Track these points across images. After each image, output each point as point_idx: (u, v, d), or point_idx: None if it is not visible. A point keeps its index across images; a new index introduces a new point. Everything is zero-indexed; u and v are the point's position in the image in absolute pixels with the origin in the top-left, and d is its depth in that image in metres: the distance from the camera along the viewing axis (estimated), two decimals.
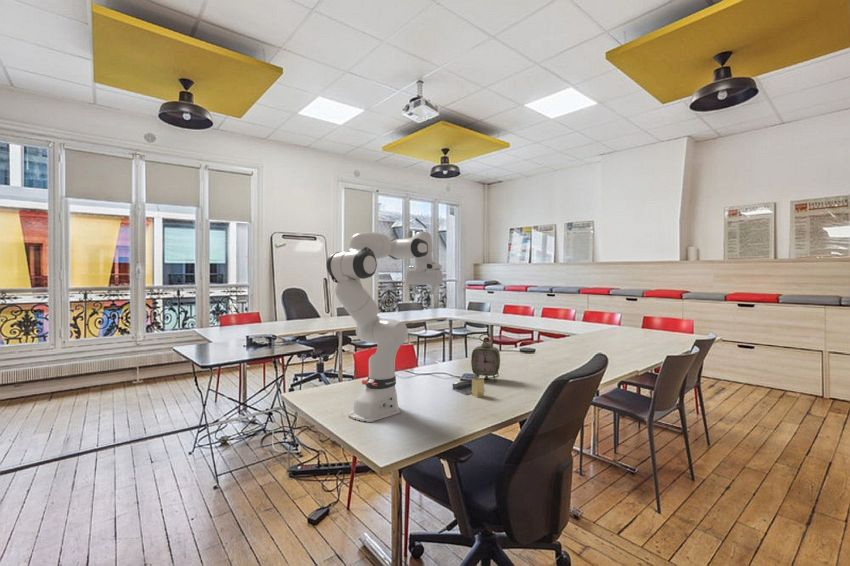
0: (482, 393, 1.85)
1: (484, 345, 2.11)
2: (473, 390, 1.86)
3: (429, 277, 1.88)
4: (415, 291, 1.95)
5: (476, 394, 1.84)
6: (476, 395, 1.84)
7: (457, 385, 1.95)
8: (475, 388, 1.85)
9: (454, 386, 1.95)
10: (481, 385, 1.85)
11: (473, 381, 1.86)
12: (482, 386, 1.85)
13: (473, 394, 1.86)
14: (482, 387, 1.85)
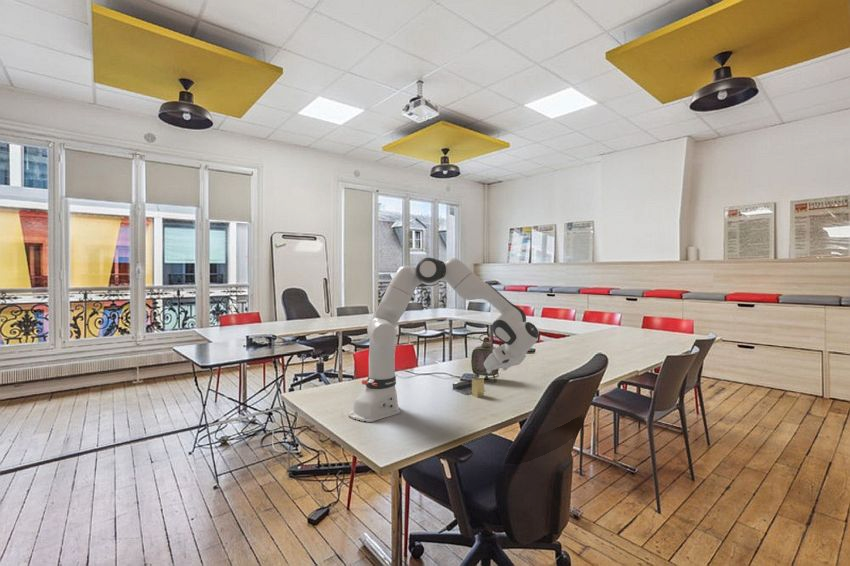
0: (482, 393, 1.85)
1: (484, 345, 2.11)
2: (473, 390, 1.86)
3: None
4: None
5: (476, 394, 1.84)
6: (476, 395, 1.84)
7: (457, 385, 1.95)
8: (475, 388, 1.85)
9: (454, 386, 1.95)
10: (481, 385, 1.85)
11: (473, 381, 1.86)
12: (482, 386, 1.85)
13: (473, 394, 1.86)
14: (482, 387, 1.85)
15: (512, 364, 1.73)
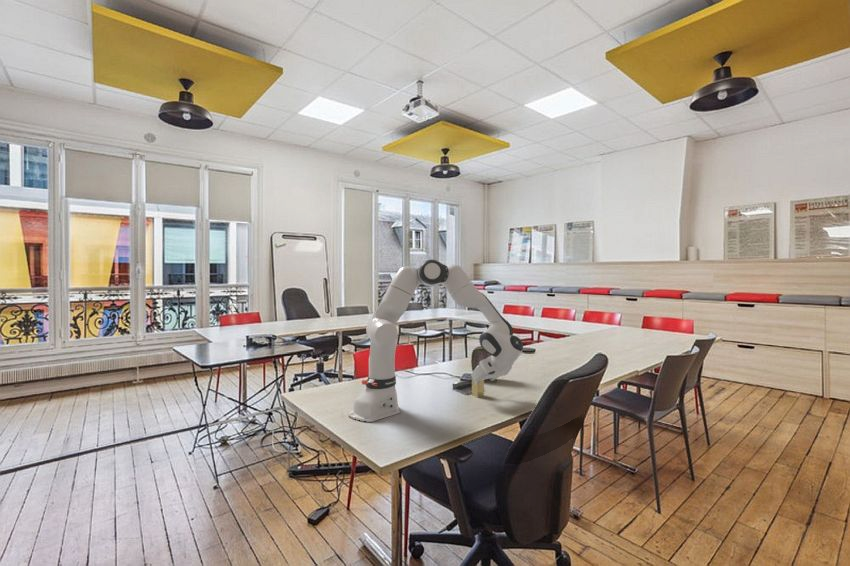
0: (482, 393, 1.85)
1: None
2: (473, 390, 1.86)
3: None
4: None
5: (476, 394, 1.84)
6: (476, 395, 1.84)
7: (457, 385, 1.95)
8: (475, 388, 1.85)
9: (454, 386, 1.95)
10: (481, 385, 1.85)
11: (473, 381, 1.86)
12: (482, 386, 1.85)
13: (473, 394, 1.86)
14: (482, 387, 1.85)
15: (499, 375, 1.80)
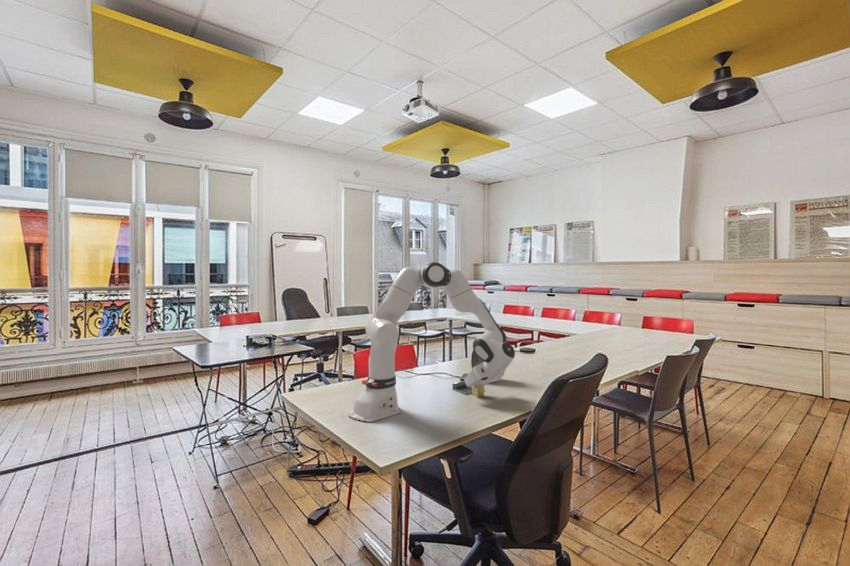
0: (482, 393, 1.85)
1: None
2: (473, 390, 1.86)
3: None
4: None
5: (476, 394, 1.84)
6: (476, 395, 1.84)
7: (457, 385, 1.95)
8: (475, 388, 1.85)
9: (454, 386, 1.95)
10: (481, 385, 1.85)
11: None
12: (482, 386, 1.85)
13: (473, 394, 1.86)
14: (482, 387, 1.85)
15: (492, 380, 1.84)
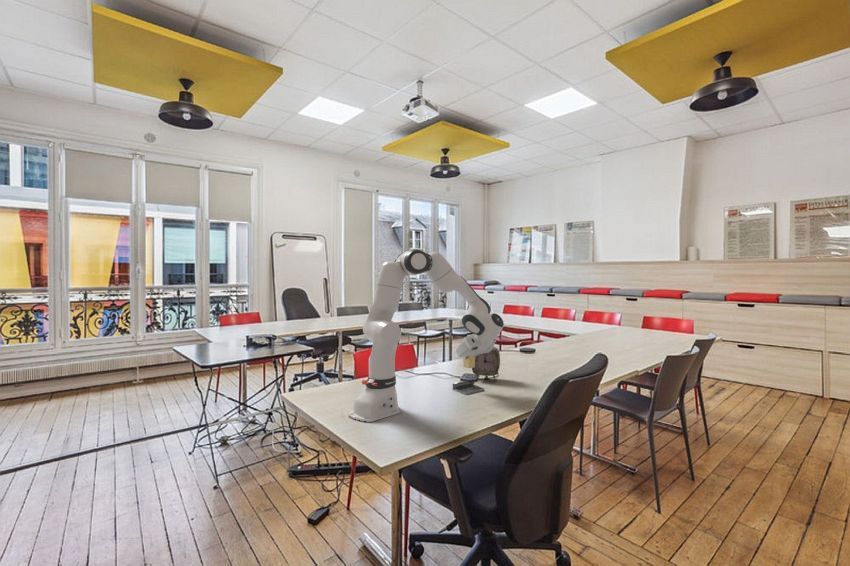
0: (473, 364, 1.93)
1: None
2: (464, 361, 1.94)
3: None
4: None
5: (467, 365, 1.92)
6: (467, 366, 1.92)
7: (457, 385, 1.95)
8: (466, 360, 1.93)
9: (454, 386, 1.95)
10: (472, 356, 1.93)
11: None
12: (473, 358, 1.93)
13: (464, 365, 1.94)
14: (473, 358, 1.93)
15: (482, 352, 1.92)
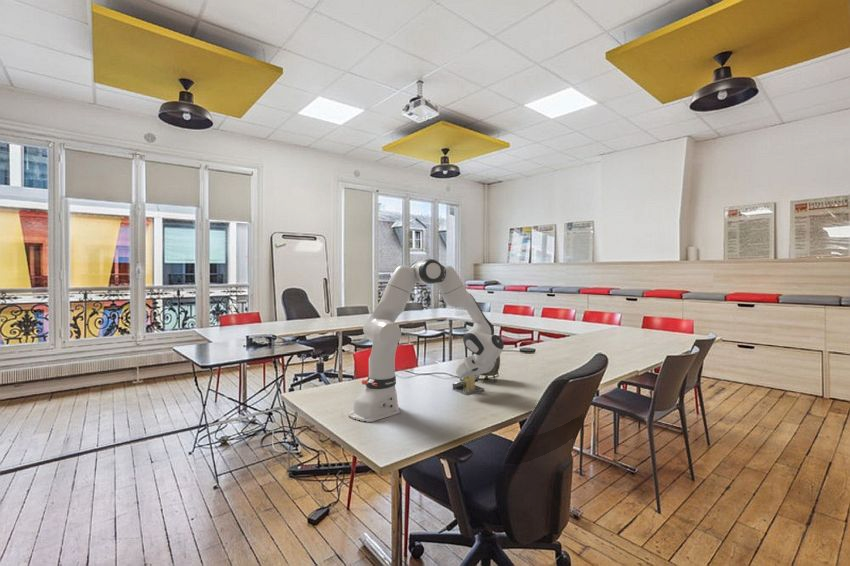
0: (473, 386, 1.93)
1: None
2: (464, 383, 1.94)
3: None
4: None
5: (467, 387, 1.92)
6: (467, 388, 1.92)
7: (457, 385, 1.95)
8: (466, 381, 1.93)
9: (454, 386, 1.95)
10: (472, 378, 1.93)
11: None
12: (472, 379, 1.93)
13: (464, 387, 1.94)
14: (473, 380, 1.93)
15: (482, 372, 1.92)
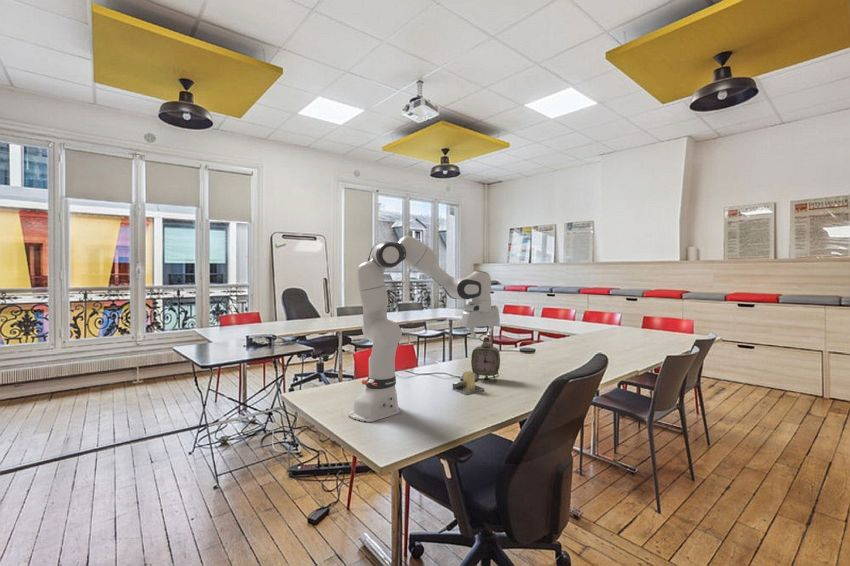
0: (473, 386, 1.93)
1: (484, 345, 2.11)
2: (464, 383, 1.94)
3: None
4: None
5: (467, 387, 1.92)
6: (467, 388, 1.92)
7: (457, 385, 1.95)
8: (466, 381, 1.93)
9: (454, 386, 1.95)
10: (472, 378, 1.93)
11: (464, 375, 1.94)
12: (472, 379, 1.93)
13: (464, 387, 1.94)
14: (473, 380, 1.93)
15: (490, 321, 1.83)
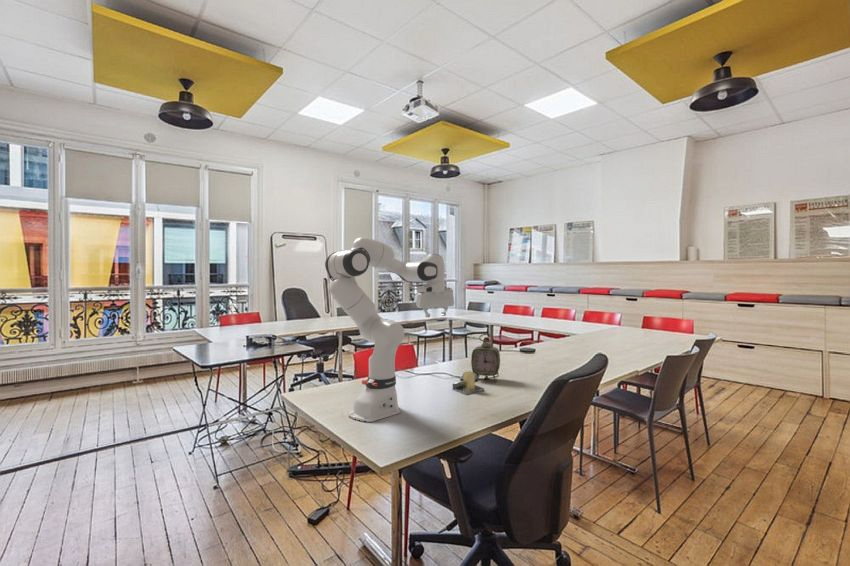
0: (473, 386, 1.93)
1: (484, 345, 2.11)
2: (464, 383, 1.94)
3: None
4: None
5: (467, 387, 1.92)
6: (467, 388, 1.92)
7: (457, 385, 1.95)
8: (466, 381, 1.93)
9: (454, 386, 1.95)
10: (472, 378, 1.93)
11: (464, 375, 1.94)
12: (472, 379, 1.93)
13: (464, 387, 1.94)
14: (473, 380, 1.93)
15: (444, 303, 1.91)
